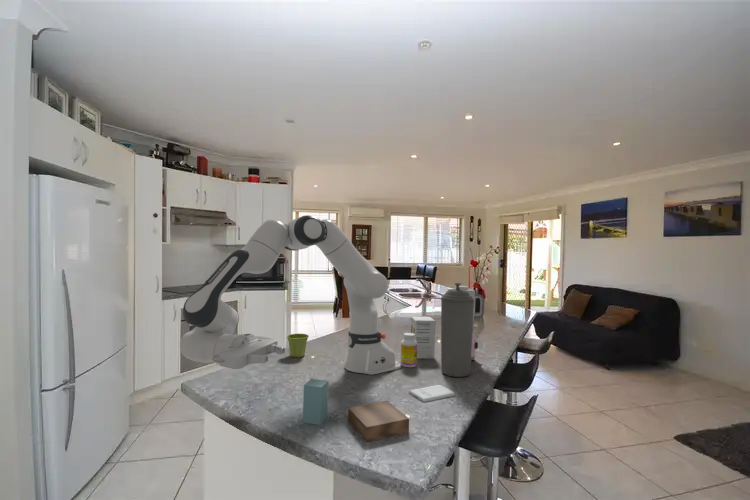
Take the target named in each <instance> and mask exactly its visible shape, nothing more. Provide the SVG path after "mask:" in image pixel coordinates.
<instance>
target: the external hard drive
mask: <svg viewBox="0 0 750 500" xmlns="http://www.w3.org/2000/svg"><path fill="white" fill-rule="evenodd" d="M408 393H409V394H410V395H411V396H413V397H415V398H416V399H417V400H419V401H421V402H422V403H427V402H431V401H435V400H441V399H446V398H450V397H455V396H456V395H455V392H454V391H453V390H451V389H448V388H447V387H445V386H444V385H441V384H435V385H431V386H427V387H421V388H415V389H410V390H408Z"/></svg>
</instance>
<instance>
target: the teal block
mask: <svg viewBox="0 0 750 500" xmlns="http://www.w3.org/2000/svg"><path fill="white" fill-rule="evenodd" d="M328 397H329V380H325V379H318V378H316V379H314V378H311V379H309V380H308V381H307V382H306V383H305V384H304V385H303V402H302V403H303V404H302V405H303V406H302V423H305V424H309V425H310V424H311V425H317V426H318V425H319V426H321V425H322V424H323V422H324V421H325V420H326V419H327V418H328V406H329V405H328V402H329V401H328V400H329V398H328Z"/></svg>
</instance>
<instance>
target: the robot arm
mask: <svg viewBox="0 0 750 500" xmlns="http://www.w3.org/2000/svg"><path fill="white" fill-rule="evenodd" d="M311 246H316V247H317V248H318V249H320V252H322V254H323V255H324V256H325V257H326V259H327V260H328V261H329V263H330V264H331V265H332V266H333V267H334V269H335V270H336V271H337V272H338V273H340V274H341V275H342V276H343V277H344V278H343V285H344V288H345V290H346V294H347V295H346V296H347V301H348V307H349V308H348V309H349V331H348V334H347V335H348V336H347V346H348V349H347V356H346V360H345V364H344V369H345V370H347V371H349V372H353V373H359V374H365V375H372V376H373V375H377V374H381V373H386V372H390V371H395V370H399V369H401V368H402V365H401V362H399V361H397V360H396V355H395V352H394V350H393V349H391V347H389V346H388V345H387V344H386V343H385V342H383V341H382V339H383V340H385V339H386V337H387V335H386V334H385V333H381V332H379V331H378V323H379V322H378V320H379V318H378V315H379V314H378V310H377V308H376V305H375V301H374V300H375V299H379V298H382V297H384V296H385V294H386V293H387V292H388V289H389V282H388V279H387V277H386V276H385V275H384V274H383V273H381V272H380V271H379V270H377V268H376V267H375V266H374V265H373V264H372V263H371V262H369V261H368V259H366V258H365V256H363V255H362V254H361V253H360V252H359V251H358V249H357V248H356V247H355V245H354V243H352V241H351V240H350V239H349V237H348V236H347V235H346V233H345V232H344V231H343V230H342V229H341V228H340V227H339V226H338V225H337V224H336V223H335V222H333V220H331V219H326V218H325V219H322V220H321V219H320V218H318V217H316V216H314V215H309V214H307V215H302V216H300V217H297V218H296V217H295V218H294V219H292V220H291V221H289V222H287V223H283V222H281V221H279V220H278V219H277V220H276V219H267V220H266V221H264V222H263V223H262V224H261V225H260V226H259V227H258V228H257V229H256V231H255V232H254V233H253V235H252V236H250V238H249V240H248V242H247V243H246V244H245V245H244V246H242V248H241V249H237V250H234V252H233V251H232V253H231V254H229V255H228V256H227V257H226V258H225V260H224V261H223V262H222V263H220V265H219V266H218V267H217V268H216V269H215V271H214V272H213V273H212V274H211V275H210V276H209V277H208V278H207V280H206V281H205V282H204V283H203V284H202V285H201V286H200V287H199V288H198V289H197V290H195V291H194V292H193V293H191V294H190V296H189V297H188V298H187V299H185V301H184V304H183V309H182V316H183V319H184V321H185V322H186V323H187V324H189V325H191V326H194V328H193V329H191V330H189V331H187V332H185V333H184V334H183V336H182V337H181V338H180V342H179V349H180V352H181V354H182V356H184V358H186V359H187V360H189V361H190V360H191V361H193V362H197V363H205V364H211V363H214V364H217V365H219V366H220V367H223V368H226V369H231V370H240V369H241V370H242V369H243V368H244V367H247V366H249V365H255V364H265V363H267V362H268V361H269V356H270V355H271V354H275V353H276V354H277V355H284V354H285V353H286V348H285V347H284V346H279V345H278V340H277V339H275V338H272V337H267V336H259V335H256V336H255V334H254V333H244V334H243V333H242V334H236V333H235V332H236V329H237V327H238V325H239V320H240V317H239V313H238V311H237V310H236V309H235V308H234V307H232V306H230V305H229V304H227V303H226V302H225V301H223V300H222V299H221V298H222V295H223V294H224V292H225V291H226V290H227V289H228V288H229V287H230V286H231V284H232V283H233V282H234V281H235V279H236V278H238V276H240V275H242V274H243V273H248V274H253V275H254V274H255V275H260V274H265V273H267V272H269V271H270V270H271V269H272V267H274V265H275V264H276V262H277V261H278V259H279V257H280V255H281V254H282V252H283V250H288V251H294V252H295V251H299V250H304V249H308V248H309V247H311Z"/></svg>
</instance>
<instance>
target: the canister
mask: <svg viewBox="0 0 750 500" xmlns="http://www.w3.org/2000/svg"><path fill="white" fill-rule="evenodd" d="M454 285H455V288H456V289H452V288H449V289H450V290H448V289H447V291H446V292H445V293H444V294H443V295H442V296H441V298H440V301H441V304H440V305H441V308H440V311H441V313H440V314H441V316H440V317H441V320H440V321H441V322H440V323H441V325H440V327H441V328H440V338H441V339H440V340H441V342H440V344H441V345H440V346H441V349H440V353H441V354H440V356H441V361H440V362H441V364H440V366H441V368H440V371H441V372H442V373H443V374H444V375H446V376H450V377H455V378H465V377H468V376H469V375H470V373H471V365H472V364H471V363H472V360H471V348H472V329H474V327H473V325H474V322H473V308H474V299H473V298H472V296H471V295H470V294H469V293H468V292H467V291H466V290H461V289H460V288H459V286H462V283H460V282H454Z"/></svg>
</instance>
